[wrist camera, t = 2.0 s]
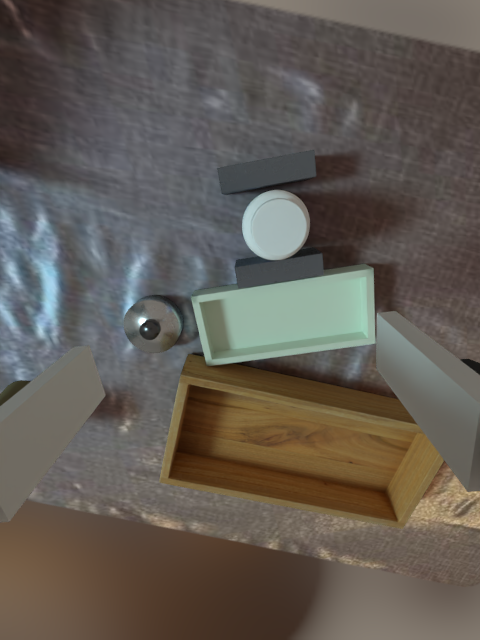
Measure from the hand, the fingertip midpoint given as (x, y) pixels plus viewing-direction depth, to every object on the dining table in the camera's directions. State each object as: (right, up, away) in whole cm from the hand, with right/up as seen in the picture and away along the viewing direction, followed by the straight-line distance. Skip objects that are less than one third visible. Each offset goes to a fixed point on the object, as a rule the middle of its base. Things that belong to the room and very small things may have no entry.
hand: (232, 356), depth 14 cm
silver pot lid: (-9, +2, +21) cm, 23 cm away
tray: (+8, -12, +26) cm, 30 cm away
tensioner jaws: (+3, +11, +17) cm, 21 cm away
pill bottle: (+3, +12, +17) cm, 21 cm away
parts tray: (+5, +2, +20) cm, 21 cm away
